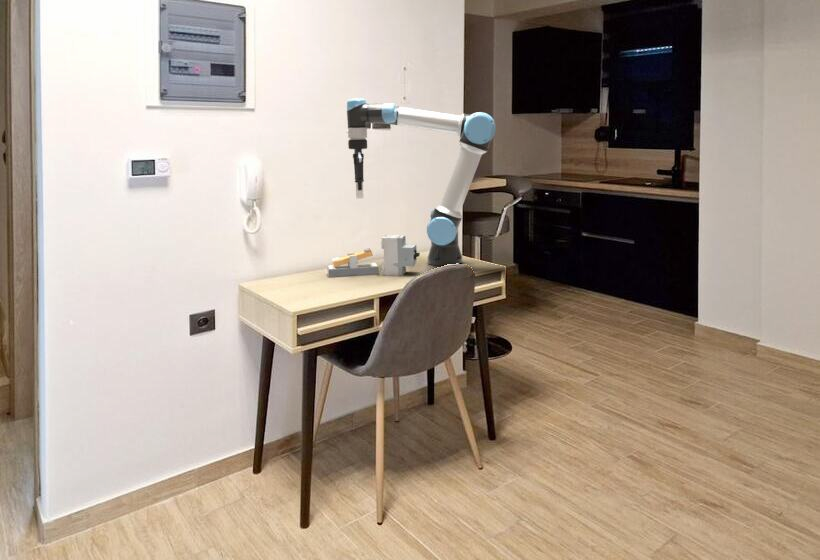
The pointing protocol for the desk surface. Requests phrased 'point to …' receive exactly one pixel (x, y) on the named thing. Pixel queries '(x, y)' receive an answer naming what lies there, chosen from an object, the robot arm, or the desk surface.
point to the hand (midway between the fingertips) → (359, 198)
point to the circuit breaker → (397, 255)
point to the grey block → (353, 268)
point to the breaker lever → (360, 255)
